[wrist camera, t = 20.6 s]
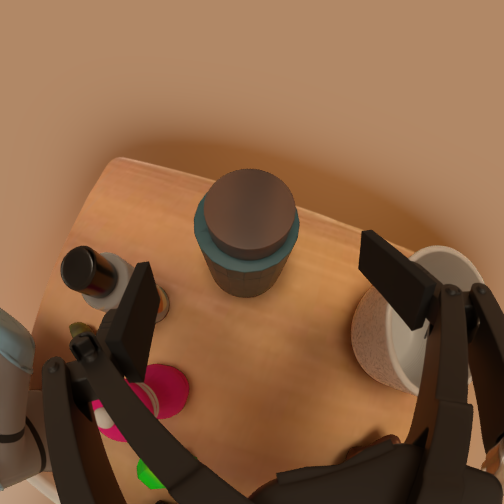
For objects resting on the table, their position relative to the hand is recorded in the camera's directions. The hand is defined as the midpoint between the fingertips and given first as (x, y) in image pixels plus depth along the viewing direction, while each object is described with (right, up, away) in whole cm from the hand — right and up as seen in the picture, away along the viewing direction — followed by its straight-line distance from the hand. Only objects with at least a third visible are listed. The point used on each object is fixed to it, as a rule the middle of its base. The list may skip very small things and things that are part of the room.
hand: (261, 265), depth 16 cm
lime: (-25, -12, +19) cm, 34 cm away
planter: (+20, -11, +21) cm, 31 cm away
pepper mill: (-12, -18, +17) cm, 28 cm away
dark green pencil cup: (-1, -1, +23) cm, 24 cm away
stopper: (-1, +2, +15) cm, 15 cm away
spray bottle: (-15, -7, +21) cm, 27 cm away
